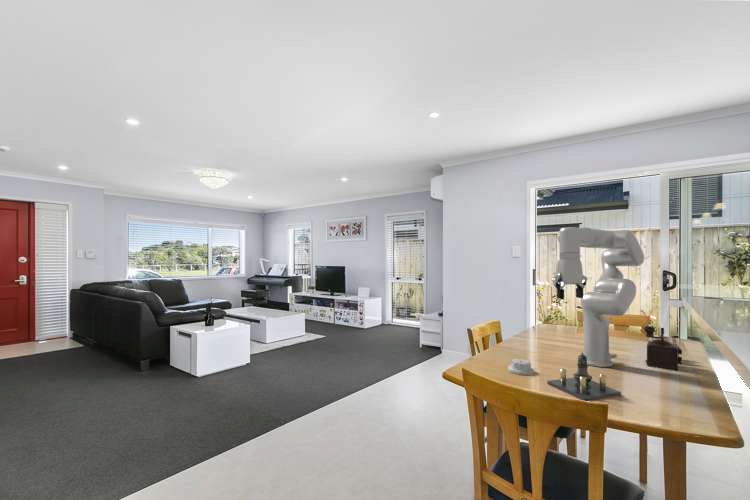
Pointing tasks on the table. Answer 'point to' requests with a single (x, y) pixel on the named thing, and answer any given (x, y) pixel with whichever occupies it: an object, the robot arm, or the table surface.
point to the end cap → (679, 357)
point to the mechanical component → (521, 367)
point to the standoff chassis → (584, 387)
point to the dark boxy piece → (661, 351)
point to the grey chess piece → (582, 371)
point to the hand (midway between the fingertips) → (570, 298)
